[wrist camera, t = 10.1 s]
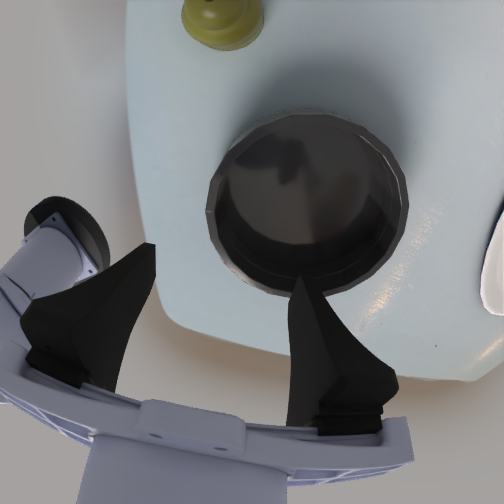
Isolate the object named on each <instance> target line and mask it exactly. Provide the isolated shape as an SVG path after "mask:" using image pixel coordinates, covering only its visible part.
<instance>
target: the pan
mask: <svg viewBox="0 0 504 504" xmlns="http://www.w3.org/2000/svg"><path fill="white" fill-rule="evenodd" d="M408 209H409V200H408V193H407V187H406V181H405V176H404V174H403V172H402V170H401V168H400V166H399V165H398V163H397V161H396V159H395V157H394V156H393V154H392V152H391V150H390V149H389V148H388V147H387V146H386V145H385V144H384V143H382V142H381V141H380V140H379V139H378V138H377V137H375V136H374V135H373V134H372V133H371V132H369V131H368V130H367V129H366V128H364V127H363V126H361V125H359V124H357V123H355V122H353V121H352V120H350V119H348V118H345V117H342V116H339V115H337V114H334V113H331V112H327V111H324V110H321V109H311V108H298V109H288V110H284V111H281V112H277V113H274V114H271V115H269V116H267V117H264V118H262V119H260V120H258V121H256V122H255V123H254V124H252V125H251V126H249V127H248V128H247V129H246V130H245V131H244V132H242V133H241V134H240V135H239V136H238V137H237V138H236V139H235V140H234V141H233V143H232V144H231V146H230V148H229V149H228V151H227V153H226V154H225V156H224V158H223V159H222V161H221V163H220V165H219V166H218V168H217V170H216V172H215V174H214V175H213V177H212V179H211V181H210V186H209V192H208V198H207V204H206V210H205V211H206V212H205V213H206V218H207V224H208V229H209V234H210V239H211V242H212V243H213V245H214V247H215V249H216V250H217V252H218V254H219V255H220V257H221V259H222V260H223V262H224V264H225V265H226V266H227V267H228V268H229V269H231V270H232V271H233V272H234V273H235V274H236V275H237V276H238V277H239V278H241V279H242V280H243V281H244V282H246V283H248V284H250V285H252V286H254V287H256V288H258V289H260V290H262V291H264V292H266V293H269V294H273V295H278V296H283V297H288V298H290V297H291V295H292V292H293V290H294V287H295V285H296V282H297V280H298V277H299V275H300V273H302V274H307V275H312V277H313V278H314V280H315V282H316V283H317V285H318V287H319V288H320V290H321V292H322V293H323V295H324V297H327V296H330V295H334V294H337V293H340V292H344V291H347V290H348V289H351V288H353V287H355V286H356V285H358V284H360V283H361V282H363V281H365V280H366V279H368V278H370V277H371V276H373V275H374V274H375V273H376V272H377V271H378V270H379V269H380V268H381V267H382V266H383V265H384V264H385V263H386V261H387V260H388V259H389V258H390V257H391V256H392V254H393V252H394V251H395V249H396V247H397V245H398V243H399V241H400V239H401V237H402V236H403V234H404V231H405V226H406V221H407V215H408Z"/></svg>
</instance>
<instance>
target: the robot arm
mask: <svg viewBox="0 0 504 504" xmlns="http://www.w3.org/2000/svg"><path fill="white" fill-rule="evenodd" d="M21 244H22V247H21V249H19V250H18V252H17V253H16V254H15V255H14V256H13V257H12V258H11V259H10V260H9V261H8V262H7V263H6V264H5V265H4V266H3V268H2V269H1V270H0V404H13V405H15V406H16V407H18V408H19V409H21V410H22V411H24V412H25V413H27V414H29V415H30V416H32V417H34V418H35V419H37V420H39V421H40V422H42V423H44V424H45V425H47V426H49V427H51V428H52V429H54V430H56V431H58V432H60V433H61V434H63V435H65V436H67V437H69V438H71V439H73V440H75V441H77V442H79V443H81V444H83V445H85V446H88V447H90V448H91V449H90V453H89V456H88V460H87V463H86V467H85V471H84V474H83V478H82V482H81V486H80V490H79V494H78V498H77V503H76V504H287V487H288V486H306V485H318V484H327V483H335V482H342V481H350V480H356V479H361V478H367V477H374V476H379V475H384V474H386V473H388V472H391V471H394V470H396V469H398V468H400V467H403V466H405V465H407V464H409V463H411V462H413V461H414V455H413V449H412V443H411V438H410V433H409V428H408V423H407V418H406V417H405V416H404V417H394V418H387V419H384V420H381V416H380V415H381V414H383V407H382V406H383V405H384V404H385V403H387V402H388V401H389V400H390V399H391V398H393V397H394V395H395V394H396V393H397V391H398V390H399V385H398V381H397V377H396V374H395V371H394V369H392V368H391V367H390V366H388V365H387V364H385V363H384V362H382V361H381V360H380V359H378V358H377V357H376V356H375V355H373V354H372V353H371V352H370V351H369V350H368V349H367V348H365V347H364V346H363V345H362V344H361V343H360V342H359V341H358V340H357V339H356V338H355V337H354V336H353V335H352V333H351V332H350V331H349V330H348V329H347V328H346V326H345V325H344V324H343V323H342V321H341V320H340V319H339V317H338V316H337V315H336V313H335V312H334V311H333V309H332V308H331V306H330V305H329V303H328V301H327V300H326V298H325V297H324V295H323V293H322V292H321V290H320V288H319V287H318V285H317V283H316V282H315V280H314V278H313V277H312V275H307V274H302V273H300V275H299V277H298V280H297V282H296V285H295V287H294V290H293V292H292V295H291V297H290V300H289V302H288V330H289V342H290V354H291V377H290V393H289V403H288V414H287V421H286V426H275V425H262V424H253V423H245V422H244V420H242V419H240V418H238V417H236V416H233V415H230V414H226V413H220V412H214V411H208V410H203V409H198V408H193V407H188V406H183V405H179V404H175V403H170V402H166V401H161V400H154V399H151V400H145V401H143V402H141V401H138V400H135V399H131V398H128V397H125V396H121V395H119V394H115V389H116V384H117V379H118V375H119V371H120V367H121V363H122V360H123V356H124V353H125V349H126V346H127V343H128V340H129V337H130V334H131V332H132V329H133V327H134V325H135V323H136V320H137V318H138V316H139V314H140V312H141V310H142V308H143V306H144V304H145V302H146V300H147V298H148V296H149V294H150V291H151V289H152V286H153V283H154V280H155V277H156V251H155V244H150V243H145V242H144V243H143V244H141V245H140V246H138V247H137V248H136V249H134V250H133V251H132V252H130V253H129V254H128V255H126V256H125V257H123V258H122V259H121V260H119V261H118V262H116V263H115V264H113V265H112V266H110V267H109V268H107V269H106V270H104V271H103V272H101V273H100V274H98V275H96V276H94V277H92V278H91V279H89V280H87V281H85V282H83V283H80V284H78V285H76V286H74V287H72V286H73V285H74V283H75V282H78V281H80V280H82V279H84V278H87V277H89V276H91V275H94V274H96V273H97V272H98V268H97V266H96V265H95V263H94V262H93V261H92V259H91V258H90V257H89V255H88V254H87V253H86V251H85V250H84V248H83V247H82V246H81V244H80V243H79V241H78V240H77V238H76V237H75V235H74V234H73V232H72V231H71V229H70V228H69V226H68V225H67V223H66V222H65V220H64V219H63V217H62V216H61V214H60V213H59V212H55V213H54V214H52V215H51V216H50V217H49V218H47V219H46V220H45V221H44V222H42V223H41V224H40V225H39V226H38V227H37V228H35V229H34V230H33V231H32V232H31V233H30V234H28V235H27V236H26V237H25V238H24V239H23V240H22V241H21Z"/></svg>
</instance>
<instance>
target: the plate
mask: <svg viewBox="0 0 504 504" xmlns="http://www.w3.org/2000/svg"><path fill="white" fill-rule="evenodd" d="M480 295H481V299H482V302H483V306H484V307H485V308H486V309H487V310H488V311H489V312H490V313H491V314H495V315H500V316H504V208H503V210H502V212H501V214H500V216H499V218H498V220H497V222H496V225H495V228H494V231H493V234H492V236H491V239H490V242H489V244H488V247H487V249H486V253H485V258H484V262H483V266H482V270H481V274H480Z"/></svg>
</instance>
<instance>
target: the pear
mask: <svg viewBox="0 0 504 504" xmlns="http://www.w3.org/2000/svg"><path fill="white" fill-rule="evenodd" d="M181 17H182V23H183V25H184V28H185V29H186V31H187V32H188V34H189V35H190V36H191V37H193V38H194V39H195V40H197V41H198V42H200V43H202V44H204V45H206V46H208V47H210V48H212V49H215V50H221V51H232V50H237V49H240V48H243V47H245V46H247V45H249V44H250V43H251V42H253V41H254V40H255V39H256V38H257V37H258V35H259V34H260V32H261V30H262V27H263V21H264V19H263V9H262V4H261V1H260V0H185V2H184V4H183V7H182V13H181Z"/></svg>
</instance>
